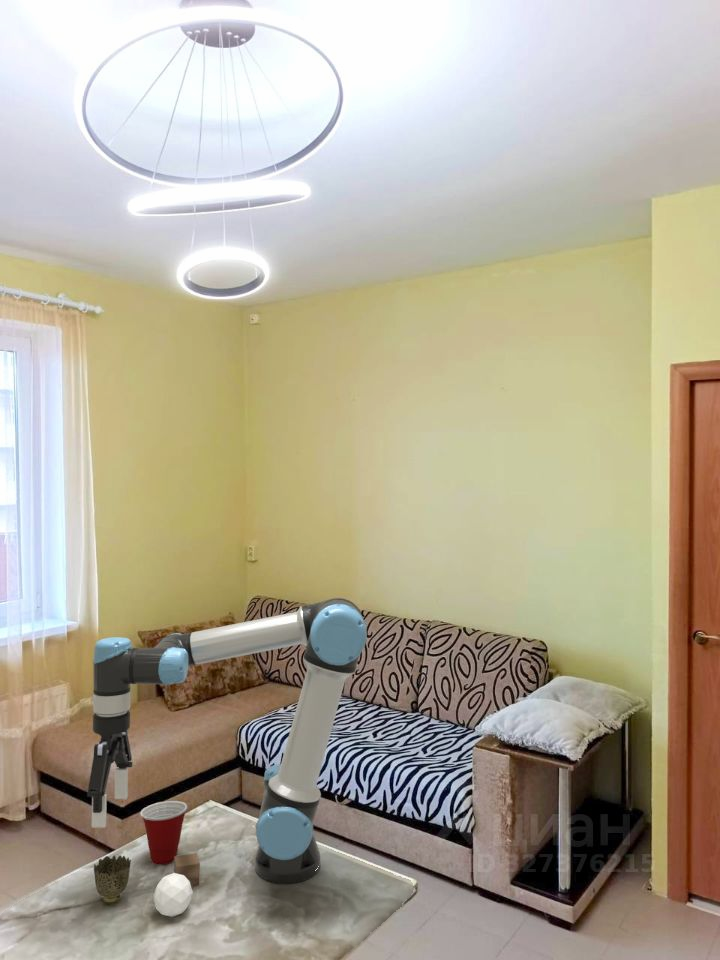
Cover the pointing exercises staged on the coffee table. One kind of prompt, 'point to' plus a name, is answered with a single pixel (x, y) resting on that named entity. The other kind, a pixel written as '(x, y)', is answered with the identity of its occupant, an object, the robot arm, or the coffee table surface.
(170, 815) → the plastic cup
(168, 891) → the geometric ball
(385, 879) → the coffee table surface
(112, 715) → the robot arm
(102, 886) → the ornate bell
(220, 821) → the coffee table surface
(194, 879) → the walnut block
